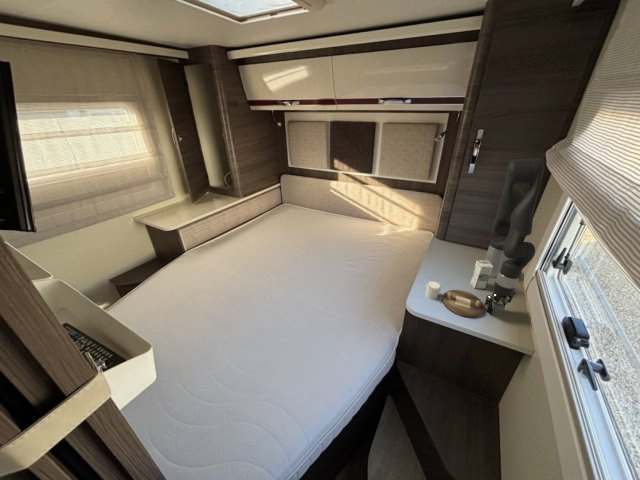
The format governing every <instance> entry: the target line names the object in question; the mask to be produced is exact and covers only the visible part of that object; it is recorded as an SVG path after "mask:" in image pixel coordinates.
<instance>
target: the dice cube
mask: <svg viewBox="0 0 640 480" xmlns="http://www.w3.org/2000/svg"><path fill="white" fill-rule="evenodd" d="M493 300H494V299H493ZM494 301H495V300H494ZM495 302H497V301H495ZM493 304H494V303H493V302H492V305H493ZM487 308H488V307H487V306H486V309H487ZM505 309H506V306H505V307H504V304H503V302H502V301H500V302H499V304H498V305H495V307H494V309H493V311H492V314H491V315H495V316H498V317H502V316H503V314H504V311H505Z"/></svg>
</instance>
